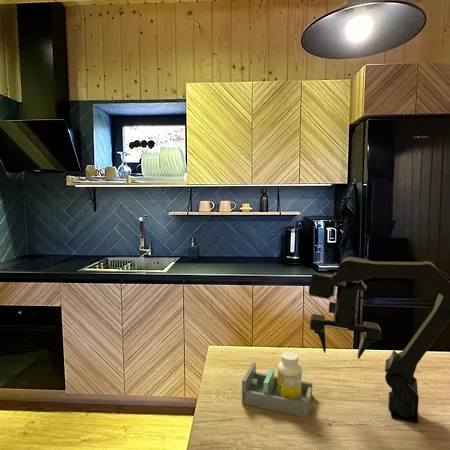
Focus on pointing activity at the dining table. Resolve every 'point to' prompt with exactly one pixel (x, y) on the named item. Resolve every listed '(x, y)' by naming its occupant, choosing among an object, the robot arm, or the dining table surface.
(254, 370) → the tray
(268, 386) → the pusher plate
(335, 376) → the dining table surface
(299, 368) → the supplement bottle
